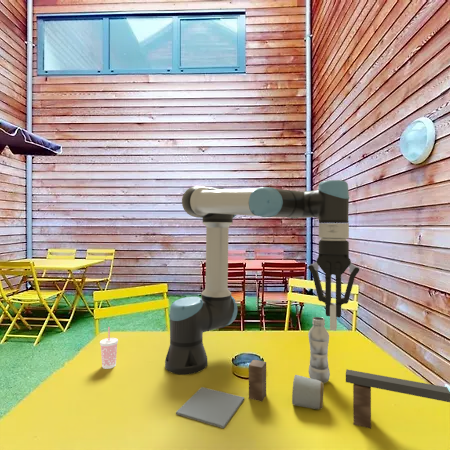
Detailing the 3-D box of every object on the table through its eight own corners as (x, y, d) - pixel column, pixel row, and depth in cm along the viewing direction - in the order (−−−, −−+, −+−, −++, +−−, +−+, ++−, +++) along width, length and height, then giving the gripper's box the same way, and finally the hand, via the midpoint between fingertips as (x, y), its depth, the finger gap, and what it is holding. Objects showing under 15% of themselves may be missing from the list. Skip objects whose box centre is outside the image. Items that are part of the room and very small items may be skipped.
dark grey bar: (345, 382, 79) (345, 374, 79) (346, 376, 82) (346, 369, 82) (450, 402, 70) (450, 393, 70) (447, 395, 72) (447, 387, 72)
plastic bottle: (319, 388, 95) (318, 323, 95) (304, 378, 101) (303, 317, 101) (334, 383, 98) (334, 320, 98) (318, 374, 104) (318, 314, 104)
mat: (176, 414, 82) (176, 411, 82) (201, 388, 95) (201, 386, 95) (223, 428, 76) (223, 426, 76) (244, 399, 89) (244, 397, 89)
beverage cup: (97, 365, 111) (97, 326, 111) (114, 360, 115) (114, 323, 115) (103, 371, 107) (103, 330, 107) (120, 366, 111) (120, 327, 111)
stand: (248, 398, 89) (248, 365, 89) (253, 391, 93) (253, 359, 93) (371, 428, 76) (370, 389, 76) (370, 419, 80) (370, 381, 80)
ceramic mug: (323, 416, 81) (323, 386, 81) (291, 410, 84) (291, 381, 84) (323, 396, 91) (323, 369, 91) (295, 391, 94) (295, 365, 94)
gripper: (305, 239, 81) (305, 329, 81) (360, 240, 76) (360, 337, 76) (310, 238, 88) (310, 321, 88) (360, 239, 82) (360, 327, 82)
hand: (333, 328), depth 82 cm, fingers closed
